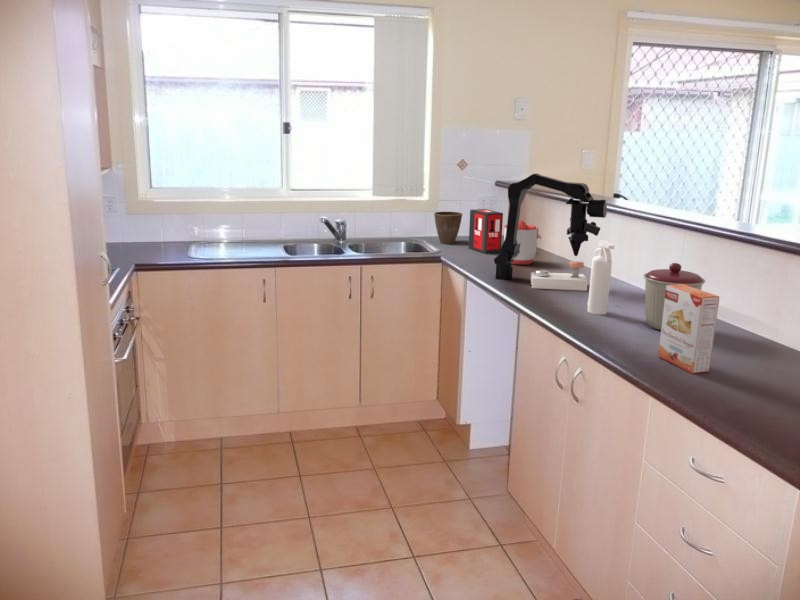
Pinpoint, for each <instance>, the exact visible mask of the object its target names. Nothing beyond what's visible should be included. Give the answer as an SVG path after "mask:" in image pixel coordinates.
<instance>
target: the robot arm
mask: <svg viewBox="0 0 800 600" xmlns="http://www.w3.org/2000/svg"><path fill="white" fill-rule="evenodd" d="M536 185H537V186H540V187H543V188H548V189H551V190H554V191H559V192H561V193H564V194H565V195H567V196H568V197H570V198H569V199H568V201H566V202H565V205H570V206H571V207H570V218H569V222H570V224H569V225H570V227H567V229H566V235H568V236H567V237H568V241H569V242H570V247H571V248H572V252H573V256H574V257H578V255H579V251H580V248H581V246H582V244H583V243H584V242H588V241H589V235H588V234H587V233H590V234H592V235H593V236H598V235H599V233H600V231H601V227H599V226H597V222H594V221H591V222H588V220H587V218H586V217H587V215H588V216H589V218H603V219H604V218H607V214H608V207H607V206H608V205H607V200H606V199H595V198H594V197H593V196H592V194H591V193H590V189H589V186H588V185H587V184H586V183H584V182H571V181H564V180H560V179H557V178H553V177H549V176H545V175H542V174H540V173H537V172H536V173H532V174H530V175H529V176H528V177H526V178H524V179H522V180H520V181H516V182H512V183H511V184H510V185H508V187H507V198H508V202H509V208H508V215H507V224H506V225H507V230H506V238H505V240H504V239H503V243H502V244H501V250H500V253H498V254H497V256H496V257H495V258H494V259H493V261H494V264H495V276H494V278H495V279H497V280H499V279H500V280H512V278H513V271H514V270H513V269H514V266H513V264H511V262H513V260H514V258H516V257H517V256H518V254H519V253H520V251H519V249H520V245H521V244H518V243H517V239H516V238H517V231H518V223H519V221H520V215H521V208H522V207H521V206H522V203H523V201H524V200H525V197H526V194H527V191H528V190H529V189H531V188H533V187H534V186H536ZM569 235H570V236H569Z"/></svg>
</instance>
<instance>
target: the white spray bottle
mask: <svg viewBox="0 0 800 600" xmlns="http://www.w3.org/2000/svg"><path fill="white" fill-rule="evenodd" d="M598 246H599V247H597V248H596V249H595V251H594V257H593V258H592V260H591V267H590V277H589V289H588V290H589V291H588V299H587V303H586V305H587V311H586V312H588V313H589V314H593V315H606V314H607V313H608V307H609V298H610V297H609V296H610V287H611V285H610V284H611V277H612V276H611V275H612V264H613V261H612V253H611V250H615V245H614V244H612V243H611V242H609V241H608V240H605V239H600V240H599V241H598ZM598 252H599V254H598Z"/></svg>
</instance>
